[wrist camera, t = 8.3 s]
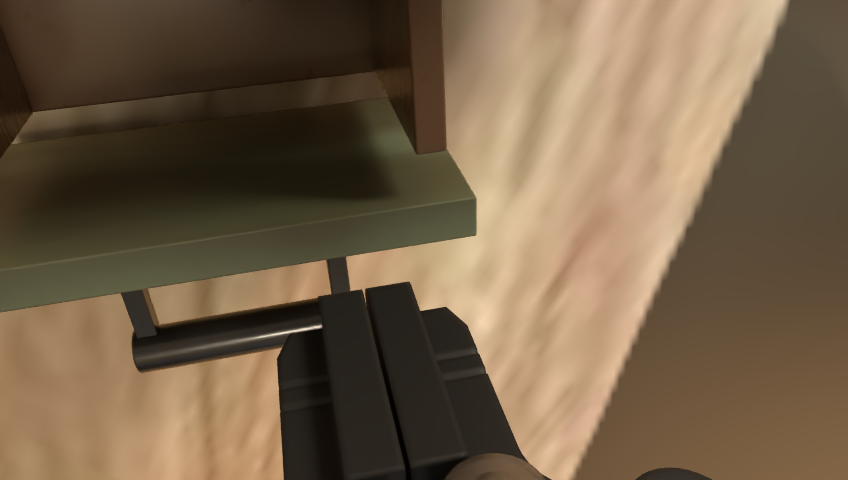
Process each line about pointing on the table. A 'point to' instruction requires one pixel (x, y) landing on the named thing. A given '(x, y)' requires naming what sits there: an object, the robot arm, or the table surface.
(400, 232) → the drawer
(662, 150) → the table surface
